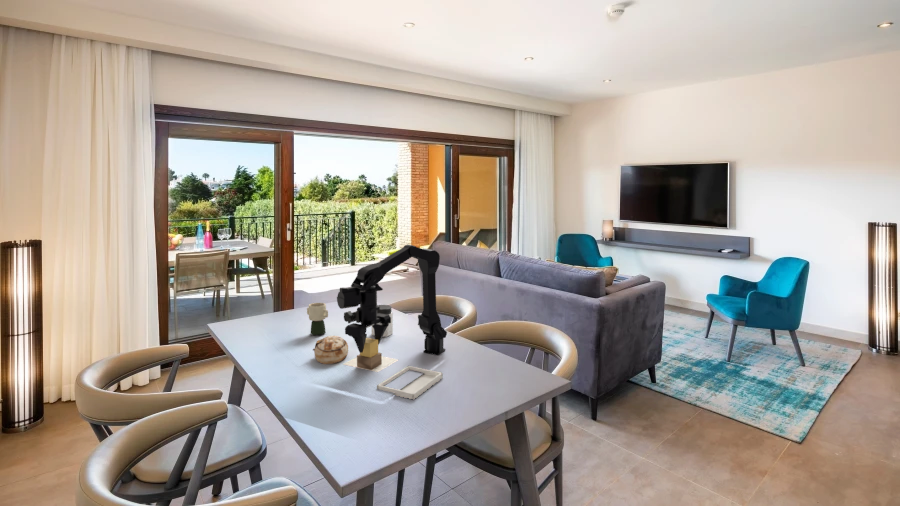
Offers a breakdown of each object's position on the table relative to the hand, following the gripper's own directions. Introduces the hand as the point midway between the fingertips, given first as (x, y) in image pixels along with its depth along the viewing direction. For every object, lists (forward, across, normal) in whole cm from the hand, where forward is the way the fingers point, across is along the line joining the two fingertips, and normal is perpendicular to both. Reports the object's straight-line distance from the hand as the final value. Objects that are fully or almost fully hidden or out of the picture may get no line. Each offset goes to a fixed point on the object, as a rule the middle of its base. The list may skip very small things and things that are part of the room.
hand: (369, 348), depth 159 cm
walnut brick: (+6, 0, 0) cm, 6 cm away
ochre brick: (+2, 0, 0) cm, 2 cm away
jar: (+7, -33, -18) cm, 38 cm away
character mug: (+7, -20, -42) cm, 47 cm away
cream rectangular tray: (+7, +5, +20) cm, 22 cm away
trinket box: (+7, -1, -18) cm, 19 cm away
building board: (+7, -3, -2) cm, 8 cm away
